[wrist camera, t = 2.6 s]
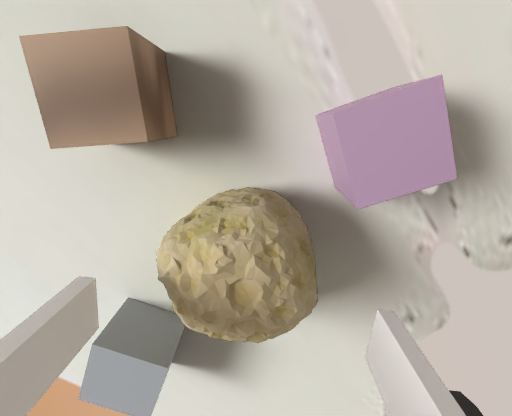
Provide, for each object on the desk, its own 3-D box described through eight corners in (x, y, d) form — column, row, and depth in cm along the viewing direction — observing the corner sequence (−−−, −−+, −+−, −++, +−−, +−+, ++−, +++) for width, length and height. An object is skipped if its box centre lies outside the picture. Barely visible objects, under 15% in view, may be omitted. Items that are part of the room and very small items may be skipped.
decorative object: (306, 248, 25) (385, 234, 15) (236, 354, 21) (282, 419, 12) (223, 180, 24) (252, 121, 15) (137, 278, 21) (104, 283, 11)
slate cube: (128, 296, 23) (92, 344, 18) (188, 316, 23) (168, 368, 18) (115, 343, 24) (78, 399, 19) (171, 362, 24) (148, 420, 20)
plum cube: (315, 115, 18) (333, 113, 13) (393, 87, 17) (442, 74, 13) (334, 187, 19) (357, 209, 15) (408, 163, 19) (457, 178, 14)
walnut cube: (86, 59, 18) (18, 36, 13) (165, 52, 17) (126, 26, 12) (104, 141, 19) (50, 148, 14) (177, 136, 19) (147, 141, 14)
